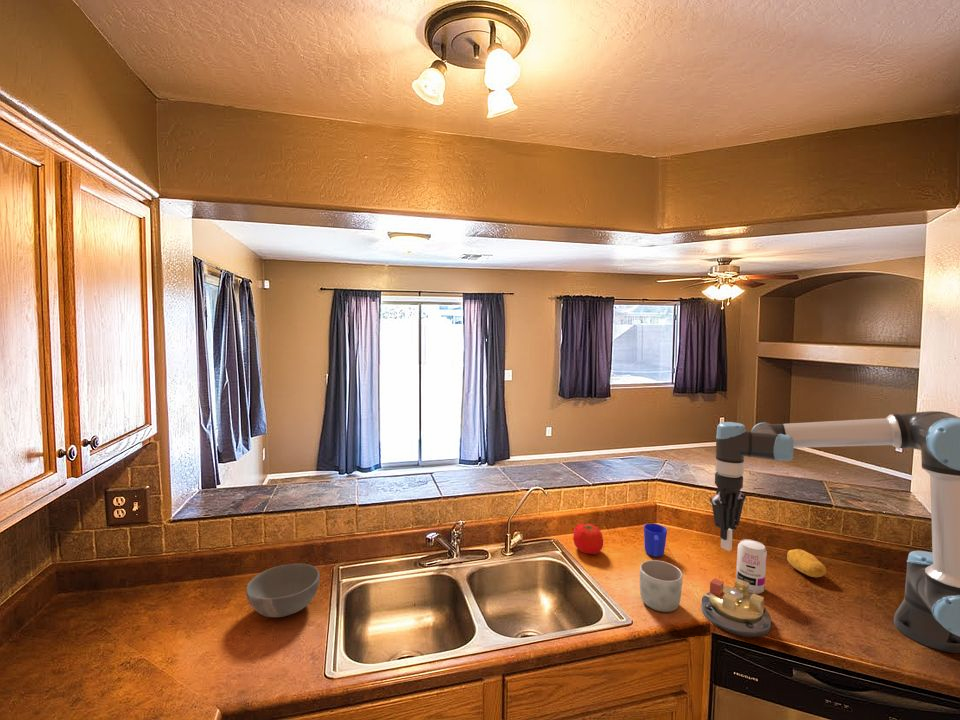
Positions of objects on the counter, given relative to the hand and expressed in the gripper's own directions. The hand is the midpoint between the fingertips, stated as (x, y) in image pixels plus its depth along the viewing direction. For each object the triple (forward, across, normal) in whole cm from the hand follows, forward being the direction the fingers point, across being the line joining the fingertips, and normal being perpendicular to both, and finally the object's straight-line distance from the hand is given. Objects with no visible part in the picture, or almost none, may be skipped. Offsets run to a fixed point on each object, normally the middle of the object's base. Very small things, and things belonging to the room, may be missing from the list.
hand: (726, 548), depth 140 cm
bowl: (+17, +126, -48) cm, 136 cm away
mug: (+18, -2, -32) cm, 37 cm away
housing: (+19, +1, +5) cm, 19 cm away
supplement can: (+19, -17, -4) cm, 25 cm away
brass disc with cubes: (+16, +1, +5) cm, 17 cm away
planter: (+18, +18, -8) cm, 27 cm away
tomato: (+18, +19, -44) cm, 51 cm away
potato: (+19, -44, -3) cm, 48 cm away
